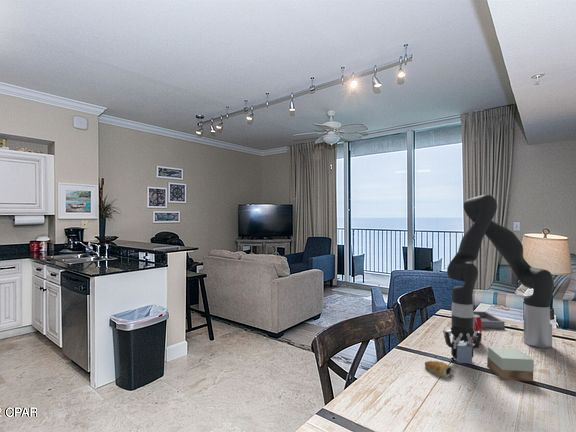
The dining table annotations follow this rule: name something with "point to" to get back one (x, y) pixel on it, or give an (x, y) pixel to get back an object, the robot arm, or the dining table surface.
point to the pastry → (439, 368)
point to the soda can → (476, 325)
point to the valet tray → (490, 320)
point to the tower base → (509, 373)
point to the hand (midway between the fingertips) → (462, 357)
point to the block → (464, 353)
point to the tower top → (510, 359)
